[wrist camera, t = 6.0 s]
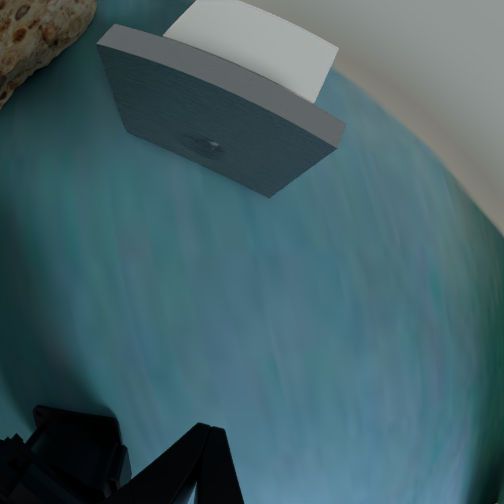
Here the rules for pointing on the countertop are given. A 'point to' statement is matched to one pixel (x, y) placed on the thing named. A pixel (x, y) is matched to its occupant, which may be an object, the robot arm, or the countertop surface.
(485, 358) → the countertop surface
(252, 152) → the grey piece
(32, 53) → the rock
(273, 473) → the countertop surface
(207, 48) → the block
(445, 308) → the countertop surface
